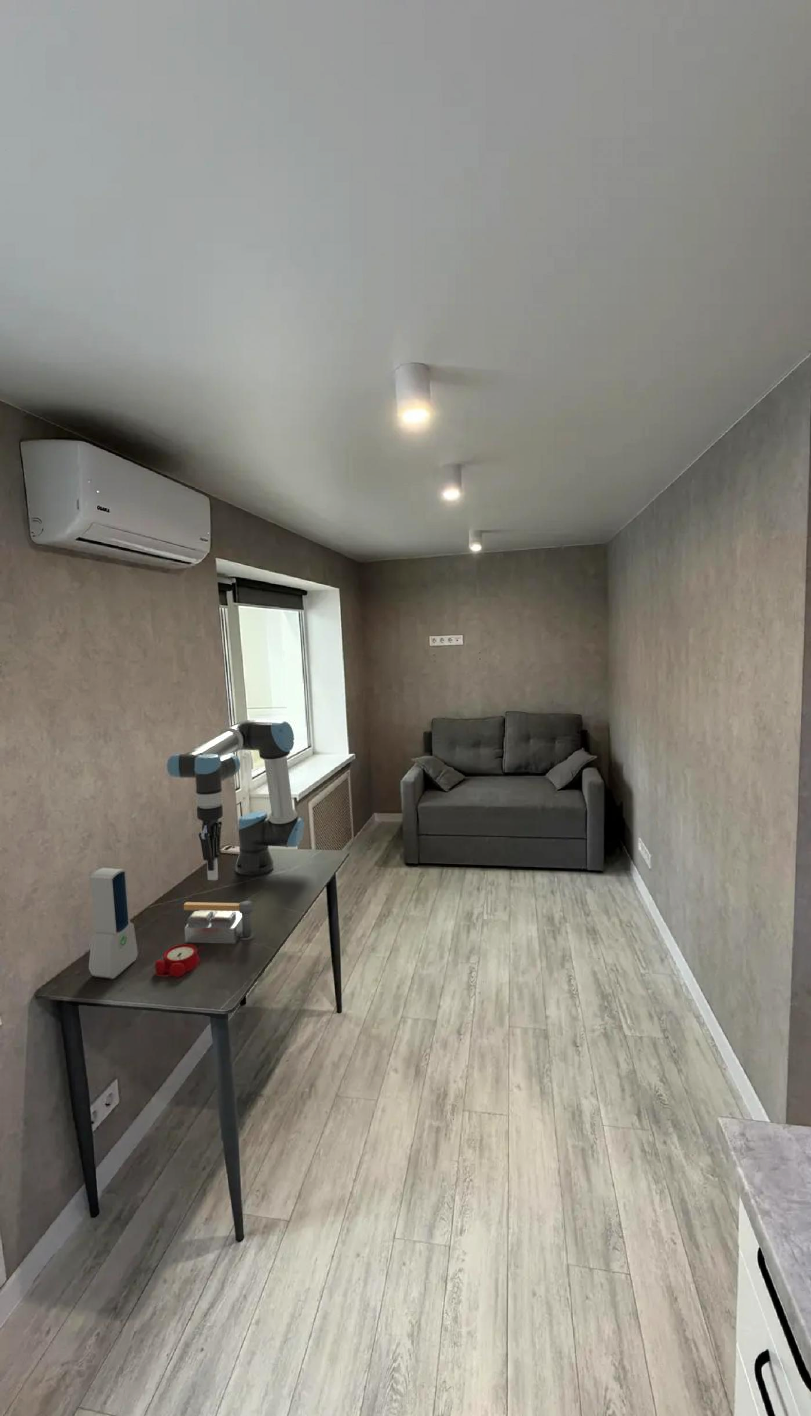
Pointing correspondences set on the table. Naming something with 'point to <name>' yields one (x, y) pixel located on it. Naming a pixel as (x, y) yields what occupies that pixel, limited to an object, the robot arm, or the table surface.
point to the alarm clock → (178, 960)
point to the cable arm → (242, 907)
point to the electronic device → (111, 924)
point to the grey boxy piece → (215, 927)
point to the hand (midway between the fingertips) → (212, 879)
